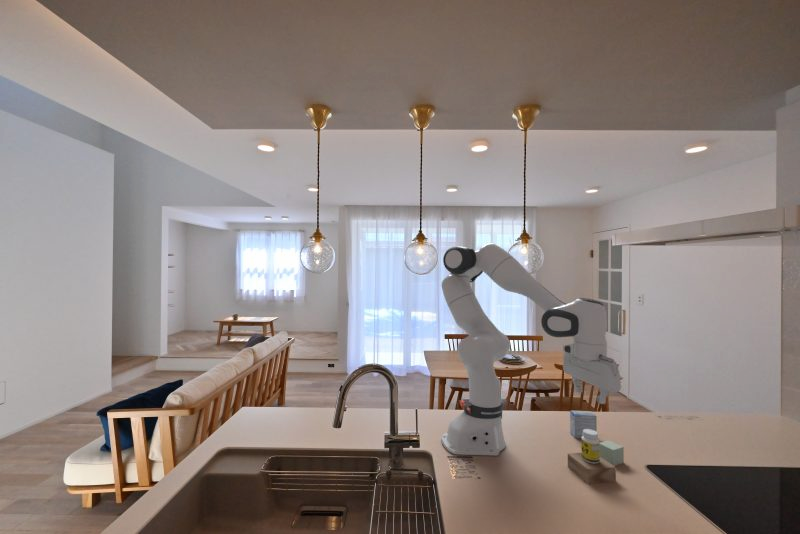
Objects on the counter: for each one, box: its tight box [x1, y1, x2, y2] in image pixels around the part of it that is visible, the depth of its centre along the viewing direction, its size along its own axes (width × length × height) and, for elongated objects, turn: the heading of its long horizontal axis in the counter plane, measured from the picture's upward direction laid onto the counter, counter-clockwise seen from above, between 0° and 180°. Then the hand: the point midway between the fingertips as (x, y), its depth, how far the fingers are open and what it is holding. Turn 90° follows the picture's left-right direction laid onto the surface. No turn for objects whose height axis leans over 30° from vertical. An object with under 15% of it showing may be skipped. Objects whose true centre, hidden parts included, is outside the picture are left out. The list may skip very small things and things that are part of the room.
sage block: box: [599, 439, 625, 467], centre depth 110 cm, size 5×5×5 cm
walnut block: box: [567, 452, 617, 485], centre depth 102 cm, size 9×9×4 cm
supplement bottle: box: [580, 429, 600, 464], centre depth 103 cm, size 5×5×8 cm
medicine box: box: [569, 410, 598, 439], centre depth 127 cm, size 8×4×9 cm, turn 84°
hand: (589, 397), depth 103 cm, fingers open, 8 cm apart
